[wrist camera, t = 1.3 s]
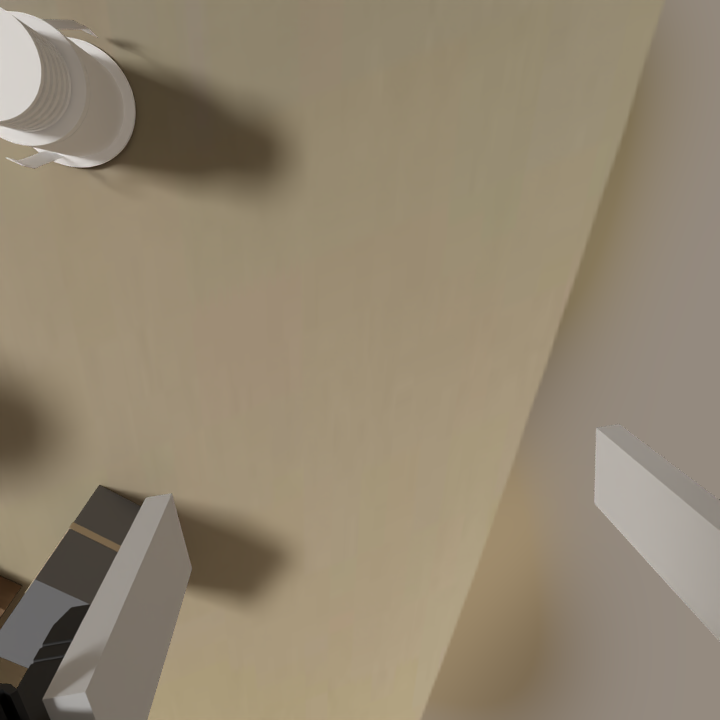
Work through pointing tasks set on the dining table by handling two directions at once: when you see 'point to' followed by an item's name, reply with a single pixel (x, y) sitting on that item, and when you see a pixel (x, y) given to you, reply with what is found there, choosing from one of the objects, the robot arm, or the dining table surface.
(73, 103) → the downlight
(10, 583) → the pedestal
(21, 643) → the grey banded box
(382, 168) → the dining table surface
